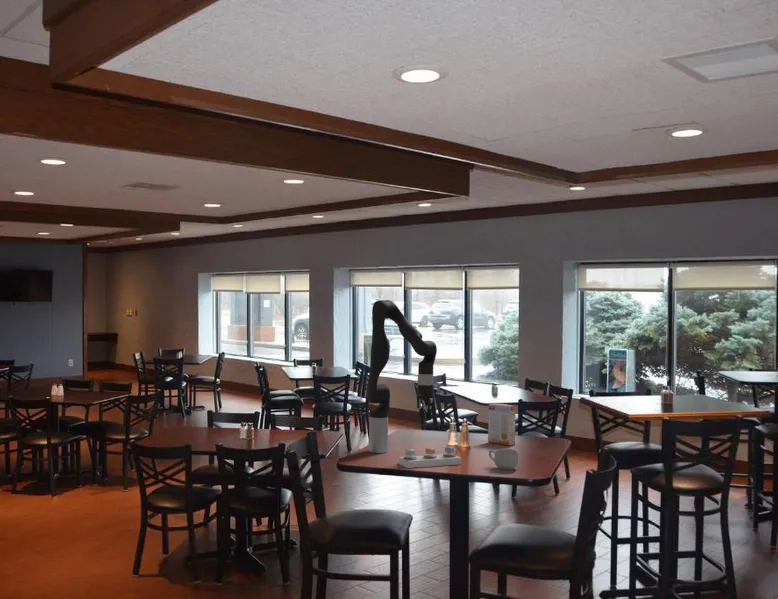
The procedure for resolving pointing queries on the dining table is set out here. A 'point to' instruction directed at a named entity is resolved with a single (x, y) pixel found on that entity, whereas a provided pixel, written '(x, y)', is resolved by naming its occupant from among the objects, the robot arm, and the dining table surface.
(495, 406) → the cracker box
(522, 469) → the dining table surface
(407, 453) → the sage button
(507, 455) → the teacup
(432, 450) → the terracotta button
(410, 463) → the button panel
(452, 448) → the slate button
